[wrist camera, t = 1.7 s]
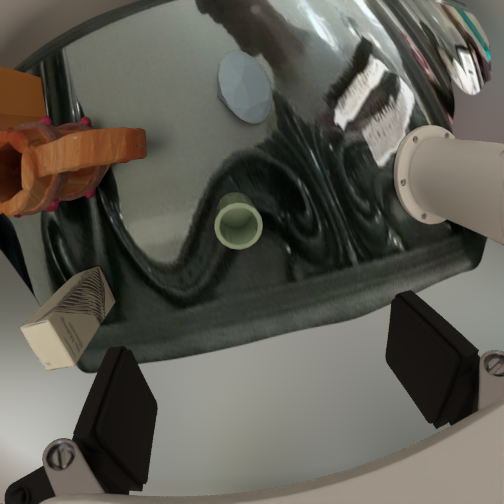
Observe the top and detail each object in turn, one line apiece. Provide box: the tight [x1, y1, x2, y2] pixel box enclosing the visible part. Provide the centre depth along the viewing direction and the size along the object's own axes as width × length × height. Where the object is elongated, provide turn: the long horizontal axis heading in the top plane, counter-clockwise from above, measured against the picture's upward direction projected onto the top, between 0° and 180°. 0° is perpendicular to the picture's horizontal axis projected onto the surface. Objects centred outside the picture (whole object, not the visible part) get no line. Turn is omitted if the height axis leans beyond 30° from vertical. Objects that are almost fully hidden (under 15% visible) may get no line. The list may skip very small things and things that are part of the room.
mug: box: [0, 116, 147, 218], centre depth 20 cm, size 15×8×15 cm, turn 92°
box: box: [21, 266, 115, 370], centre depth 26 cm, size 5×4×13 cm
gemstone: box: [218, 51, 272, 124], centre depth 25 cm, size 8×8×5 cm
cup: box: [215, 192, 263, 249], centre depth 28 cm, size 4×4×6 cm
